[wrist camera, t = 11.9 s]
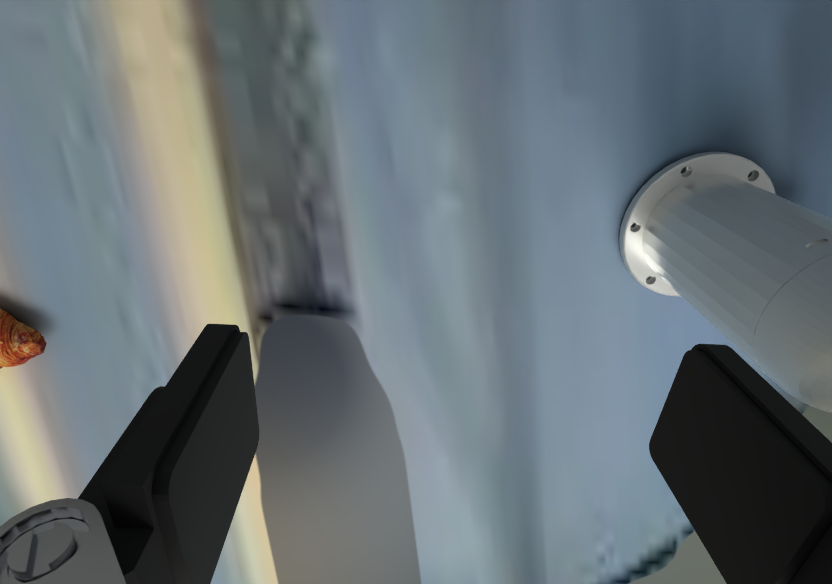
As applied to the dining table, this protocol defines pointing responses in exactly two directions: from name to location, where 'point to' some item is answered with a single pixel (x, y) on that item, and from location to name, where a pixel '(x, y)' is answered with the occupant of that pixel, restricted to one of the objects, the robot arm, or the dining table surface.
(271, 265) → the dining table surface
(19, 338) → the croissant
